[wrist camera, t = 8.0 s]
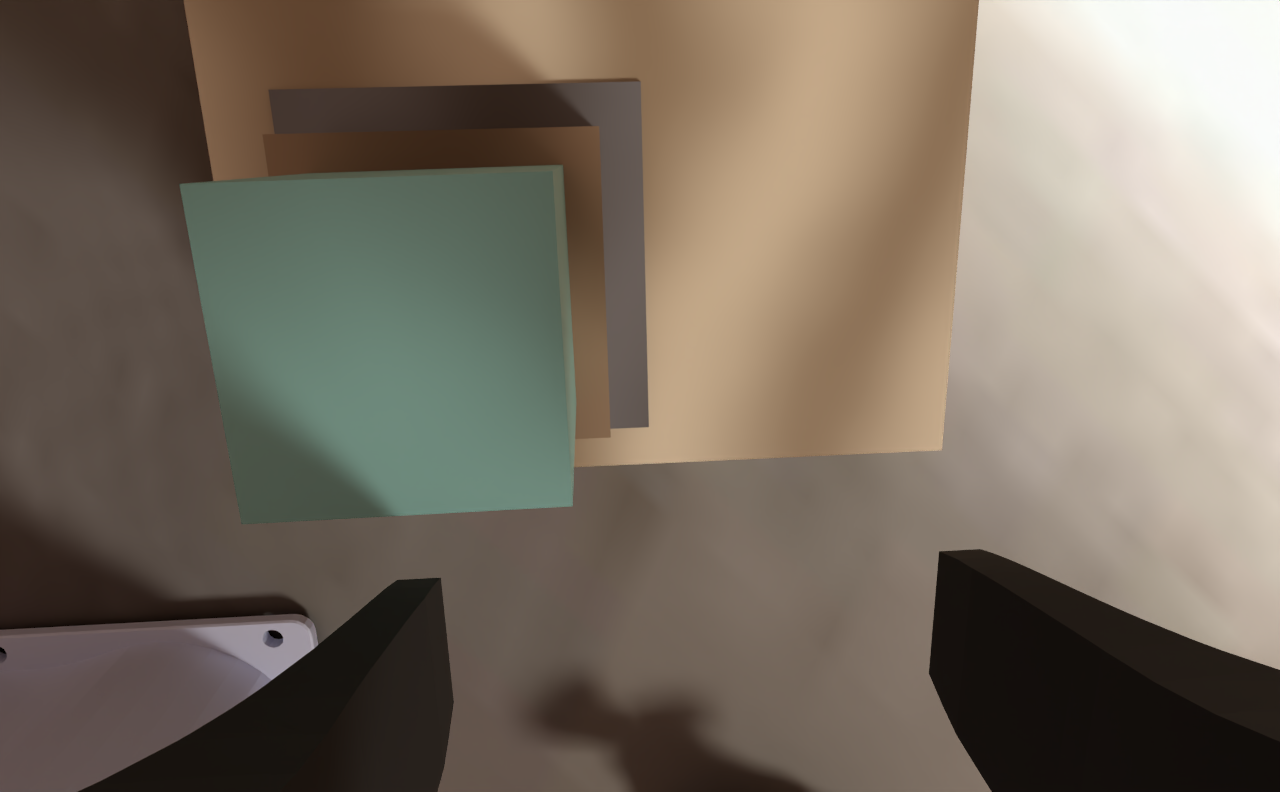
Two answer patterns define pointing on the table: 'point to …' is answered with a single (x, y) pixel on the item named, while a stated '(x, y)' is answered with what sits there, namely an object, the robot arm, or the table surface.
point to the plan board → (680, 185)
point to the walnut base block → (497, 150)
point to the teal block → (390, 339)
